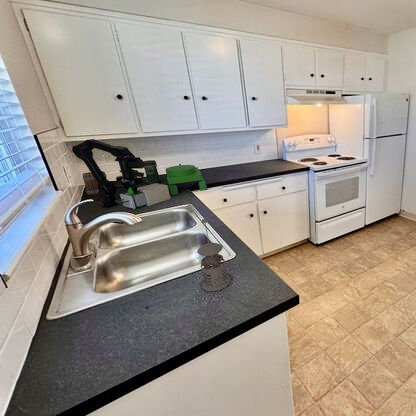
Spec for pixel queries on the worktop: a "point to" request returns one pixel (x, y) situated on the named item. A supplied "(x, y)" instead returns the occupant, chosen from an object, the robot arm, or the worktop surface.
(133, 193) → the polyhedron
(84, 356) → the worktop surface
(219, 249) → the french press
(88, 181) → the mug
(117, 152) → the robot arm
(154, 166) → the coffee jar
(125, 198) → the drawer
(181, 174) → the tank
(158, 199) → the grey box
